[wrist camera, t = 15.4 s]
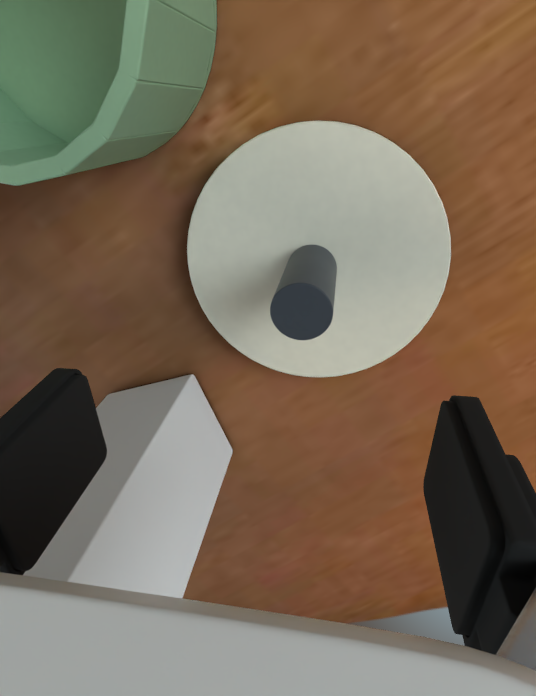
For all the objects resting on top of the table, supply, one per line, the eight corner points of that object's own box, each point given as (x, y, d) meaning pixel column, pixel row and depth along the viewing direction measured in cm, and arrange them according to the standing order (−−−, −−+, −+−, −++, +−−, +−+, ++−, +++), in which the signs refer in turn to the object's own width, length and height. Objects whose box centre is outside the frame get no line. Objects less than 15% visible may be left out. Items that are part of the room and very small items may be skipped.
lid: (206, 358, 27) (167, 426, 22) (180, 122, 21) (113, 128, 15) (423, 374, 25) (444, 454, 19) (472, 116, 19) (528, 120, 13)
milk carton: (194, 371, 28) (-22, 732, 12) (234, 450, 31) (105, 826, 15) (108, 391, 30) (-172, 719, 14) (154, 463, 33) (-35, 803, 17)
